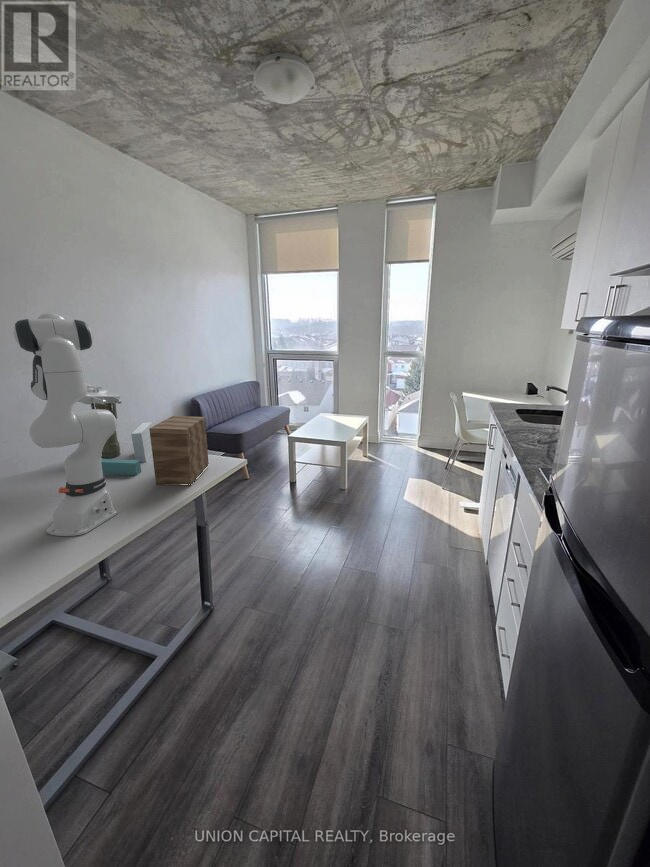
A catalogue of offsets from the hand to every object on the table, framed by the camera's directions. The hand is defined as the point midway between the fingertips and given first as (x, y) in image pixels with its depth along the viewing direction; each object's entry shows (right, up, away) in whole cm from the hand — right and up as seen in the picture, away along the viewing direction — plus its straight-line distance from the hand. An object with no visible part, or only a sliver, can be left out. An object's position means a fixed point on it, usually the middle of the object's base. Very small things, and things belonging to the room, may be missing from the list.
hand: (112, 402), depth 161 cm
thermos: (-20, -26, +34) cm, 47 cm away
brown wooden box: (+27, -34, +11) cm, 45 cm away
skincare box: (-2, -26, +35) cm, 44 cm away
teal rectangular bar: (-6, -32, +12) cm, 35 cm away
